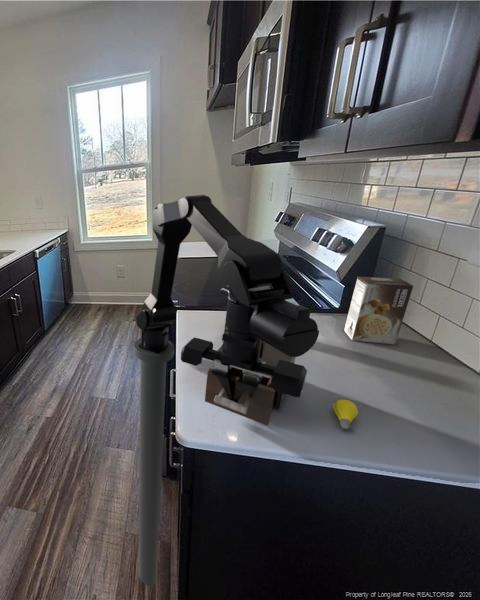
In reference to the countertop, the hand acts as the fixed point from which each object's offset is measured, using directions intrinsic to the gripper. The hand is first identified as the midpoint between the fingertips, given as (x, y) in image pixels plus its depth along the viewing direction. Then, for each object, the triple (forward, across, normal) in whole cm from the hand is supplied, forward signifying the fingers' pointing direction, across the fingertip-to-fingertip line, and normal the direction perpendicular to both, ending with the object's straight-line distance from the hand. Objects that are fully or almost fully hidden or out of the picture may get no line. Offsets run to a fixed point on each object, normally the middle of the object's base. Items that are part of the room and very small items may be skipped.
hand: (233, 403), depth 58 cm
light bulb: (+5, -16, -13) cm, 21 cm away
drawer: (+4, 0, -6) cm, 7 cm away
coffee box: (+5, -19, -54) cm, 57 cm away
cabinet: (+5, 0, -16) cm, 17 cm away
